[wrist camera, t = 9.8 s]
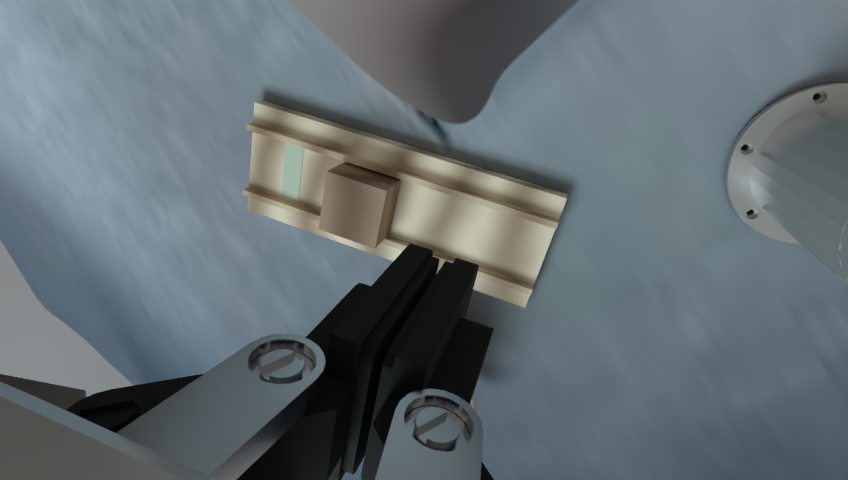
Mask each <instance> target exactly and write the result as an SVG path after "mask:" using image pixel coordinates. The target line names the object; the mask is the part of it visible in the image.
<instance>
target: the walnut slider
mask: <svg viewBox="0 0 848 480" xmlns="http://www.w3.org/2000/svg"><path fill="white" fill-rule="evenodd" d="M400 183H401V179H398V178H395V177H392V176H388V175H385V174H382V173H379V172H376V171H373V170H370V169H367V168H363V167H360V166H357V165H354V164H351V163H348V162H344V163H342V164H340V165H338V166H336V167H334V168H332V169H330V170H328V171H327V172H326V179H325V186H324V193H323V200H322V207H321V214H320V221H319V228H318V229H320V230H323V231H325V232H328V233H331V234H334V235H337V236H340V237H342V238H345V239H348V240H351V241H354V242H357V243H360V244H362V245H365V246H368V247H371V248H374V249H375V248H376V247H377V246H378V245H379V244H380V243H381V242H382V241H383V240H384V239H385V238H386V237H387V236H388V235H389V234H390V230H391V225H392V220H393V216H394V211H395V206H396V202H397V197H398V192H399V188H400Z"/></svg>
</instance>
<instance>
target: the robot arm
mask: <svg viewBox="0 0 848 480" xmlns="http://www.w3.org/2000/svg"><path fill="white" fill-rule="evenodd" d="M816 93H818V97H817V99H815V100H813V96H814V95H815V94H816ZM744 144H746V145H747V148H746V149H744V150H741V147H742V146H743V145H744ZM724 178H725V189H726V193H727V196H728V199H729V201H730V204H731V205H732V207H733V208H734V210H735V212H736V213H737V215H738V216H739V217H740V218H741V219H742V220H743V221H744V222H745V223H746V224H747V225H749V226H750V227H751V228H752V229H754V230H755V231H756V232H758V233H760V234H762V235H764V236H766V237H768V238H770V239H773V240H777V241H780V242H783V243H788V244H796V245H803V246H804V247H805V248H806V249H807V250H808V251H809V252H811V253H812V254H813V255H814V256H815V257H816V258H817V259H818V260H820V261H821V262H822V263H823V264H824V265H825V266H826V267H828V268H829V269H830V270H831V271H832V272H833V273H834V274H835V275H837V276H838V277H839V278H840V279H841V280H842V281H843V282H844V283H846V284H847V285H848V83H842V82H837V83H828V84H819V85H815V86H812V87H808V88H804V89H800V90H798V91H796V92H793V93H791V94H789V95H786V96H784V97H782V98H780V99H778V100H777V101H775V102H774V103H772V104H770V105H769V106H767V107H766V108H764V109H763V110H762V111H761V112H760V113H758V114H757V115H756V116H755V117H754V118H753V119H751V120H750V122H749V123H748V124H747V125H746V126H745V128H744V129H743V130H742V131H741V132H740V134H739V135H738V137H737V139H736V140H735V142H734V144H733V146H732V147H731V150H730V153H729V156H728V158H727V161H726V167H725V175H724ZM751 209H752V212H751V213H749V214H747V212H748V211H749V210H751ZM438 266H439V258H436V257H433V250H430V249H427V248H424V247H421V246H418V245H415V244H412V243H410V244H409V245H408V246H407V247H406V248H405V249H404V250H403V251H402V252H401V254H400V255H399V256H398V257H397V258H396V259H395V260H394V261H393V263H392V264H391V265H390V266H389V267H388V268H387V269H386V270H385V272H384V273H383V274H382V275H381V276H380V277H379V278H378V279H377V281H376V282H375V283H374V284H373V285H372V286H368V285H365V284H362V283H358V284H357V285H356V286H355V287H354V288H353V289H352V290H351V291H350V292H349V293H348V294H347V295H346V296H345V297H344V298H343V299H342V300H341V301H340V302H339V303H338V304H337V305H336V306H335V307H334V309H333V310H332V311H331V312H330V313H329V314H328V315H327V316H326V317H325V318H324V319H323V320H322V321H321V322H320V323H319V324H318V325H317V326H316V327H315V328H314V329H313V330H312V331H311V332H310V334H309V335H308V336H307V337H306V338H304V337H301V336H298V335H291V334H274V335H270V336H266V337H262V338H260V339H258V340H256V341H254V342H252V343H250V344H248V345H247V346H245V347H244V348H242V349H241V350H239V351H238V352H236V353H235V354H233V355H232V356H230V357H229V358H227V359H226V360H224V361H223V362H221V363H220V364H218V365H217V366H215V367H214V368H212V369H211V370H209V371H208V372H206V373H205V374H200V375H194V376H188V377H182V378H176V379H171V380H165V381H159V382H153V383H147V384H141V385H135V386H129V387H123V388H117V389H111V390H107V391H103V392H100V393H96V394H93V395H91V396H89V397H86V392H85V390H81V389H75V388H70V387H65V386H59V385H54V384H49V383H44V382H39V381H34V380H29V379H23V378H18V377H13V376H8V375H3V374H0V480H341V479H342V477H343V475H344V473H345V472H349V473H351V474H354V473H355V472H356V471H357V469H358V467H359V465H360V463H361V462H362V460H363V458H364V456H365V458H364V463H363V468H362V473H361V478H362V480H494V479H493V478H492V476H491V475H490V473H489V472H488V470H487V469H486V467H485V466H484V464H483V463H482V444H483V429H482V422H481V420H480V418H479V416H478V414H477V412H476V411H475V410H474V409H473V408H472V407H471V406H470V402H471V399H472V396H473V393H474V390H475V387H476V383H477V380H478V377H479V374H480V371H481V368H482V364H483V361H484V358H485V355H486V352H487V348H488V345H489V342H490V339H491V336H492V332H493V329H494V328H491V327H488V326H485V325H482V324H479V323H476V322H473V321H470V320H467V319H465V316H466V313H467V309H468V305H469V302H470V298H471V294H472V291H473V287H474V284H475V280H476V276H477V273H478V268H479V265H478V264H475V263H471V262H468V261H465V260H462V259H459V258H456V259H455V260H454V262H453V263H451V262H448V261H445V262H444V264H443V265H442V267H441V268H440V270H439V272H438V273H437V270H438Z"/></svg>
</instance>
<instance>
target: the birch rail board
mask: <svg viewBox="0 0 848 480" xmlns="http://www.w3.org/2000/svg"><path fill="white" fill-rule="evenodd" d="M247 130H249V131H252V132H253V133H252V148H251V163H250V179H249V188H246V189H244V190H243V195H244V196H247V197H248V209H247V210H250V211H252V212H255V213H258V214H261V215H264V216H267V217H269V218H272V219H275V220H278V221H281V222H284V223H286V224H289V225H292V226H295V227H298V228H300V229H303V230H306V231H309V232H312V233H315V234H317V235H320V236H323V237H326V238H329V239H332V240H334V241H337V242H340V243H343V244H346V245H349V246H351V247H354V248H357V249H360V250H363V251H366V252H368V253H371V254H374V255H377V256H380V257H383V258H385V259H388V260H391V261H394V260H395V259H396V258H397V257H398V256H399V255H400V254H401V252H402V251H403V250H404V249H405V248H406V247H407V246H408V245H409V244H410V243H412V244H415V245H418V246H421V247H424V248H427V249H430V250H433V257H436V258H439V266H438V270H437V273H438V272H439V270H440V268H441V267H442V265H443V264H444V262H445V261H448V262H451V263H453V262H454V260H455V259H456V258H459V259H462V260H465V261H468V262H471V263H475V264H478V265H479V268H478V273H477V276H476V280H475V284H474V287H473V290H476V291H479V292H482V293H484V294H487V295H490V296H493V297H496V298H499V299H501V300H504V301H507V302H510V303H513V304H515V305H518V306H521V307H524V308H525V307H526V304H527V302H528V299H529V297H530V295H531V294H532V291H533V287H534V284H535V281H536V278H537V276H538V273H539V271H540V268H541V265H542V263H543V260H544V258H545V255H546V252H547V250H548V247H549V245H550V242H551V239H552V237H553V234H554V232H555V229H557V226H558V224H559V219H560V216H561V213H562V211H563V208H564V206H565V203H566V200H567V194H566V193H562V192H559V191H556V190H553V189H549V188H546V187H543V186H540V185H536V184H533V183H530V182H527V181H523V180H520V179H517V178H514V177H510V176H507V175H504V174H501V173H497V172H494V171H491V170H488V169H484V168H481V167H478V166H475V165H471V164H468V163H465V162H461V161H458V160H455V159H452V158H448V157H445V156H442V155H439V154H435V153H432V152H429V151H426V150H422V149H419V148H416V147H413V146H409V145H406V144H403V143H400V142H396V141H393V140H390V139H387V138H383V137H380V136H377V135H374V134H370V133H367V132H364V131H360V130H357V129H354V128H351V127H347V126H344V125H341V124H338V123H334V122H331V121H328V120H325V119H321V118H318V117H315V116H312V115H308V114H305V113H302V112H299V111H295V110H292V109H289V108H286V107H282V106H279V105H276V104H272V103H269V102H266V101H259V102H255V103H254V118H253V123H250V124H247ZM344 162H348V163H351V164H354V165H357V166H360V167H363V168H367V169H370V170H373V171H376V172H379V173H382V174H385V175H388V176H392V177H395V178H398V179H401V183H400V188H399V192H398V197H397V202H396V206H395V211H394V216H393V220H392V225H391V230H390V234H389V235H388V236H387V237H386V238H385V239H384V240H383V241H382V242H381V243H380V244H379V245H378V246H377V247H376V248H375V249H374V248H371V247H368V246H365V245H362V244H360V243H357V242H354V241H351V240H348V239H345V238H342V237H340V236H337V235H334V234H331V233H328V232H325V231H323V230H320V229H318V228H319V221H320V214H321V207H322V200H323V193H324V186H325V179H326V172H327V171H328V170H330V169H332V168H334V167H336V166H338V165H340V164H342V163H344Z"/></svg>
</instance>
